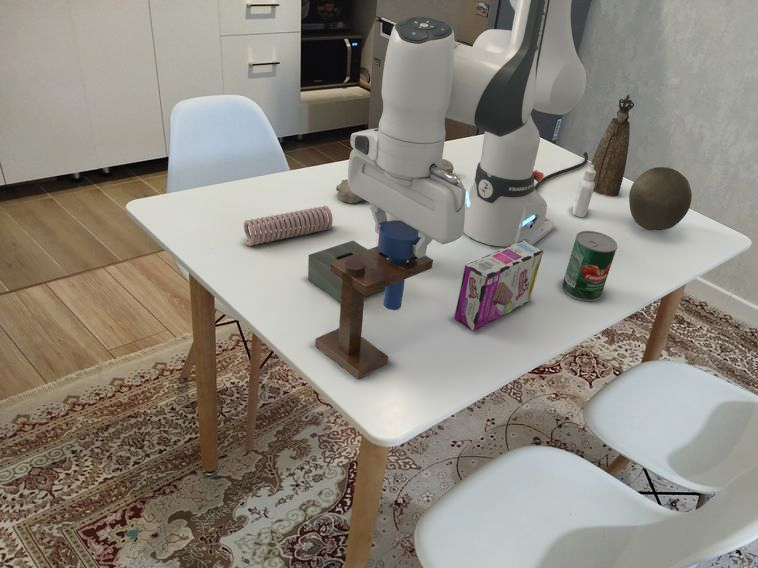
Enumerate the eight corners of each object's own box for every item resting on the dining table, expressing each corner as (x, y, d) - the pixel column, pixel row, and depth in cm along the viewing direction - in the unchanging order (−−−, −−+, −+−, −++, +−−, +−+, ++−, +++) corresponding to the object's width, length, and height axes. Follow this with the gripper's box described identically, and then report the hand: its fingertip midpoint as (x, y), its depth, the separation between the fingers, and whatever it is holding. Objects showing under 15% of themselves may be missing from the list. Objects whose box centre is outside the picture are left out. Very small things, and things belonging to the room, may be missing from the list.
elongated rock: (324, 197, 146) (354, 217, 142) (325, 175, 142) (355, 195, 138) (433, 162, 168) (461, 178, 164) (436, 142, 164) (465, 158, 160)
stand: (384, 315, 111) (393, 228, 101) (426, 343, 106) (440, 256, 97) (314, 346, 101) (317, 253, 92) (357, 379, 96) (365, 285, 87)
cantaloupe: (620, 211, 163) (638, 153, 154) (676, 224, 162) (698, 166, 153) (619, 235, 152) (639, 173, 143) (679, 249, 151) (703, 188, 142)
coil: (251, 229, 118) (337, 212, 128) (239, 216, 120) (325, 200, 131) (250, 251, 121) (335, 233, 131) (239, 237, 123) (323, 220, 134)
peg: (393, 290, 106) (401, 216, 98) (420, 308, 103) (431, 233, 95) (364, 302, 102) (370, 226, 94) (391, 320, 99) (400, 244, 91)
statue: (588, 193, 169) (616, 94, 155) (582, 181, 175) (609, 85, 161) (620, 197, 171) (651, 100, 156) (613, 185, 177) (642, 90, 162)
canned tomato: (575, 275, 133) (589, 226, 126) (608, 292, 129) (625, 243, 123) (554, 288, 127) (568, 237, 121) (588, 306, 124) (604, 255, 117)
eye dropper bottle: (565, 211, 158) (578, 163, 151) (578, 206, 161) (591, 159, 154) (579, 218, 156) (593, 170, 149) (592, 213, 159) (606, 166, 152)
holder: (351, 264, 122) (353, 240, 119) (388, 287, 118) (390, 263, 115) (307, 279, 116) (308, 254, 113) (344, 305, 111) (346, 280, 108)
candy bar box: (487, 278, 104) (545, 249, 115) (463, 264, 106) (522, 237, 117) (474, 334, 111) (530, 302, 122) (452, 320, 113) (509, 289, 124)
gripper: (482, 176, 85) (466, 268, 93) (376, 124, 95) (369, 212, 103) (450, 186, 81) (435, 281, 89) (342, 130, 91) (338, 221, 99)
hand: (399, 244), depth 96 cm, fingers closed on peg, 6 cm apart
